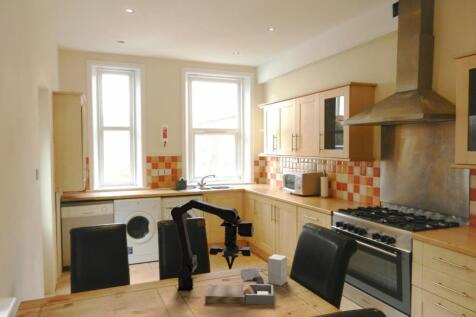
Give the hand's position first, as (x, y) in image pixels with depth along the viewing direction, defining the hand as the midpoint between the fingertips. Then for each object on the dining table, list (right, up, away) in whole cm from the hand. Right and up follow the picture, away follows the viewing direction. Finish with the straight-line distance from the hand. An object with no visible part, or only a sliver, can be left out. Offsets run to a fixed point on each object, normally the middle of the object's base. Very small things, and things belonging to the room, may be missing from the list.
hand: (230, 269), depth 167 cm
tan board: (-2, -11, -6) cm, 12 cm away
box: (+13, -11, -7) cm, 18 cm away
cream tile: (+15, -9, -7) cm, 18 cm away
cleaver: (+11, -11, +15) cm, 21 cm away
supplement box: (+23, -10, +11) cm, 28 cm away
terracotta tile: (+7, -9, -6) cm, 13 cm away
